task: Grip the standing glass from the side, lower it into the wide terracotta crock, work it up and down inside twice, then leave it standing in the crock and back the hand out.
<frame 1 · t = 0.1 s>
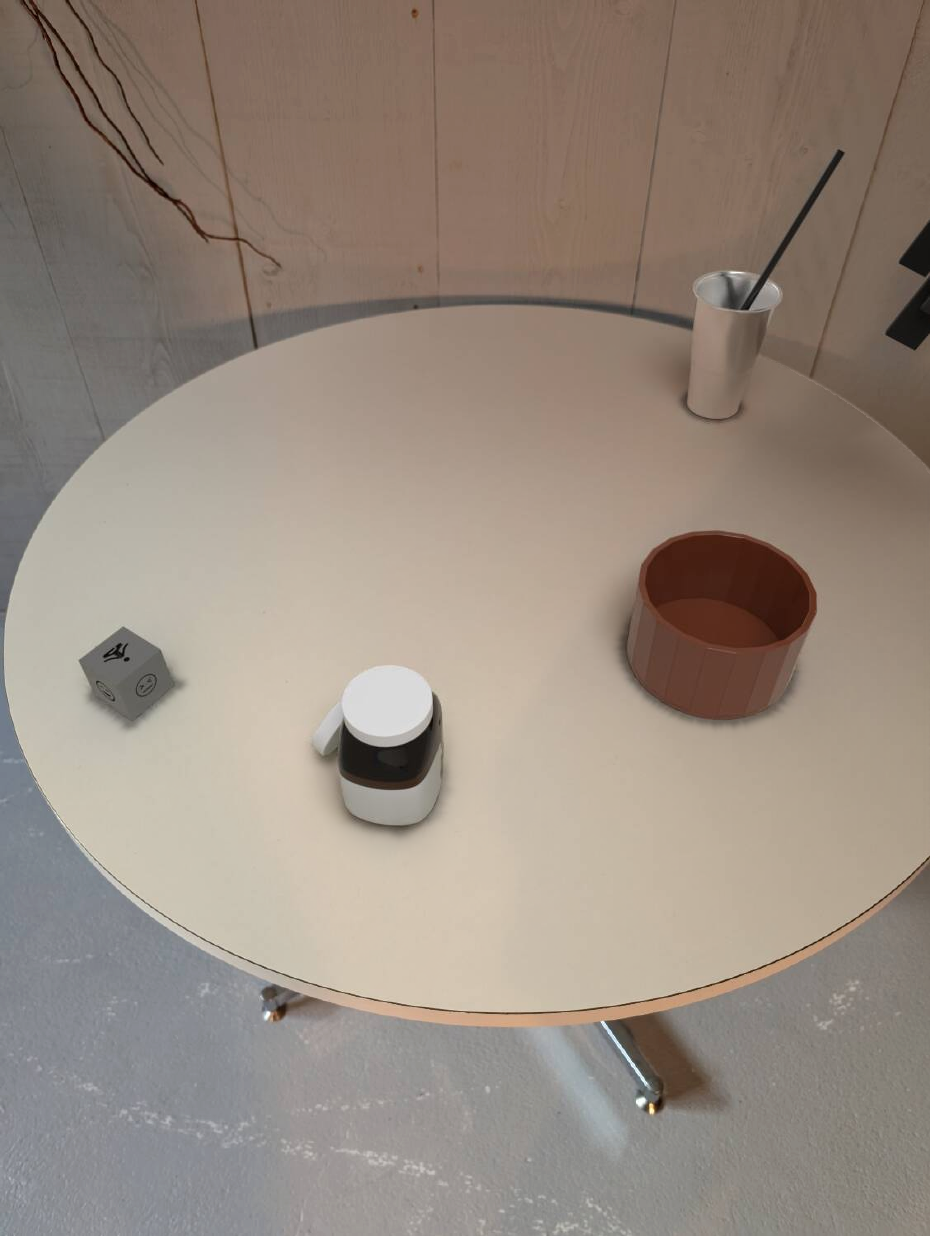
hand: (906, 303, 77), 27 cm above the table, tool tilted 20°, fingers open, 13 cm apart
dice cube: (135, 692, 84), on the table
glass: (717, 405, 115), on the table
crock: (707, 655, 86), on the table
spread jar: (378, 774, 77), on the table
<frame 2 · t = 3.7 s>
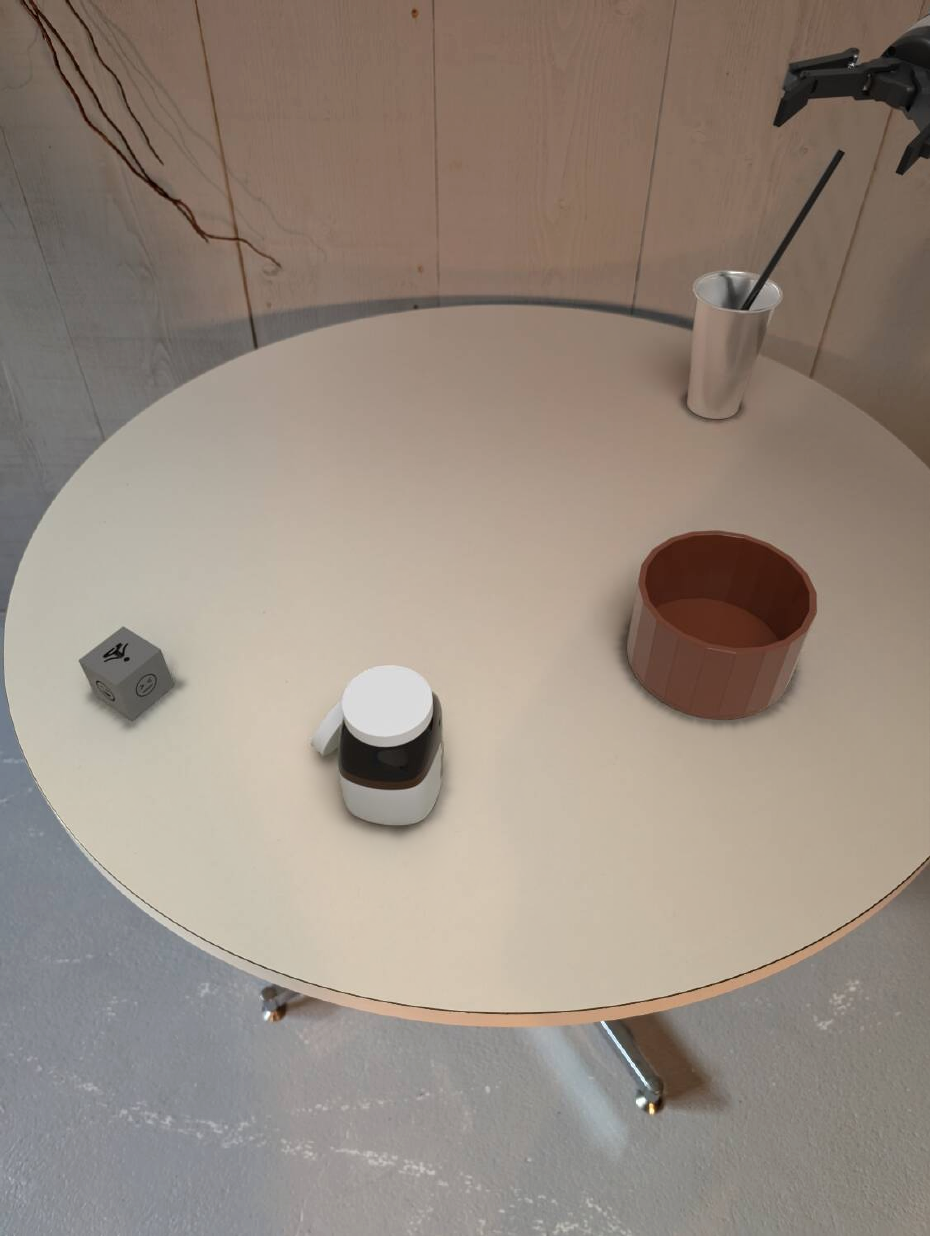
hand: (840, 136, 91), 32 cm above the table, tool horizontal, fingers open, 13 cm apart
nothing on the table moved.
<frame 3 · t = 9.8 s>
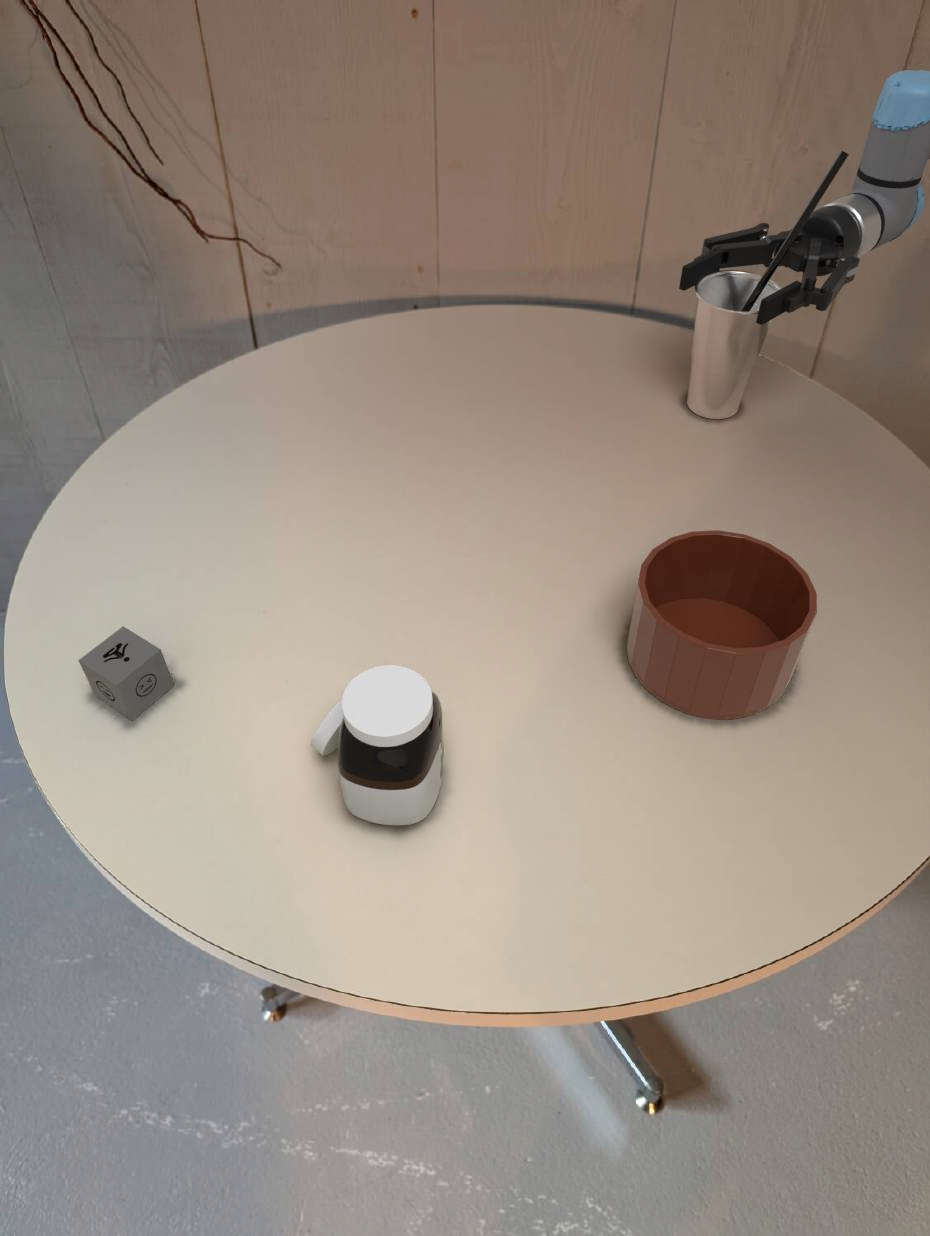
hand: (721, 295, 101), 16 cm above the table, tool horizontal, fingers closed on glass, 10 cm apart
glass: (717, 404, 115), on the table, touching gripper
everything else where it was.
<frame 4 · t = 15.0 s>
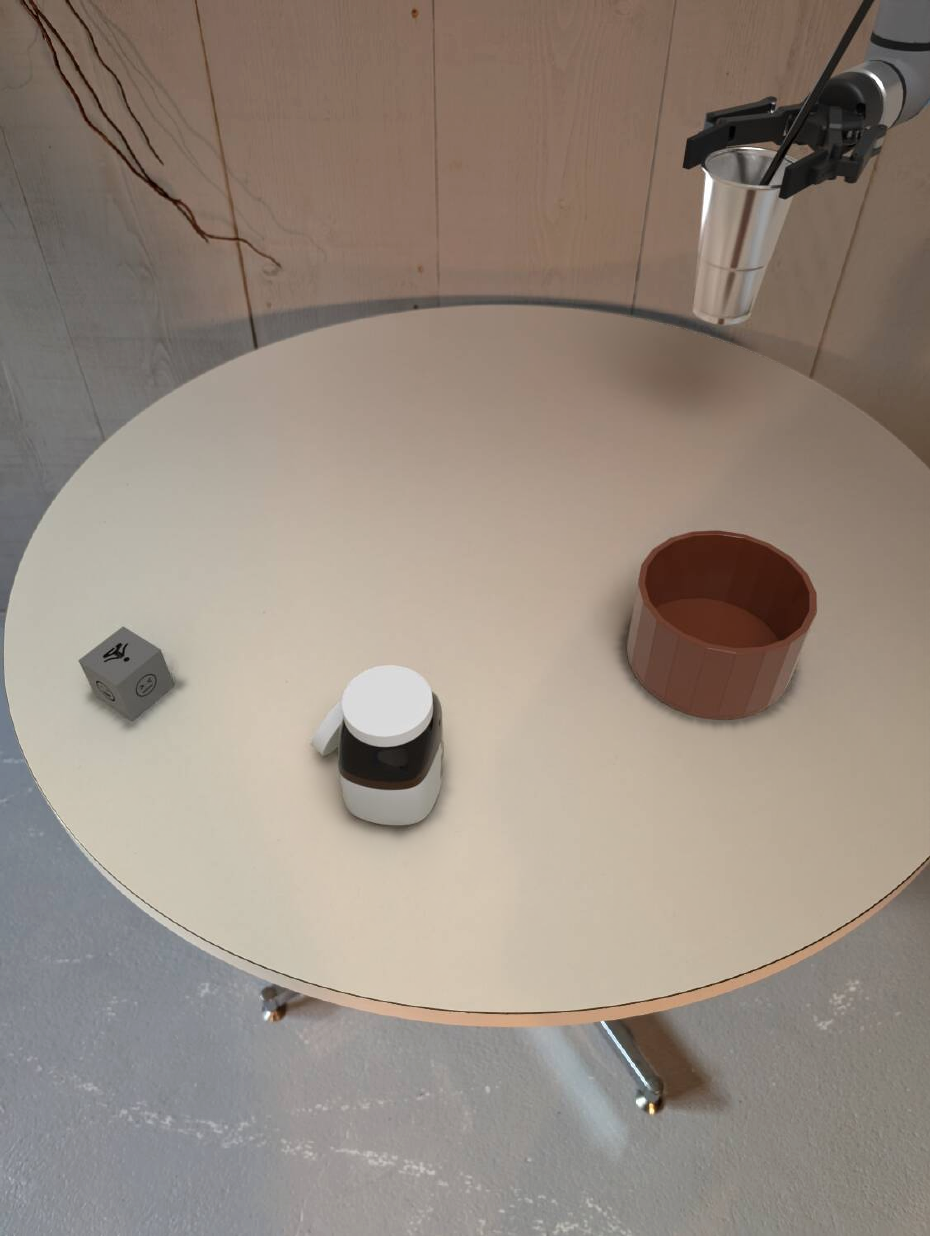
hand: (735, 168, 86), 32 cm above the table, tool horizontal, fingers closed on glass, 10 cm apart
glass: (726, 311, 100), point 15 cm above the table, touching gripper
everything else where it was.
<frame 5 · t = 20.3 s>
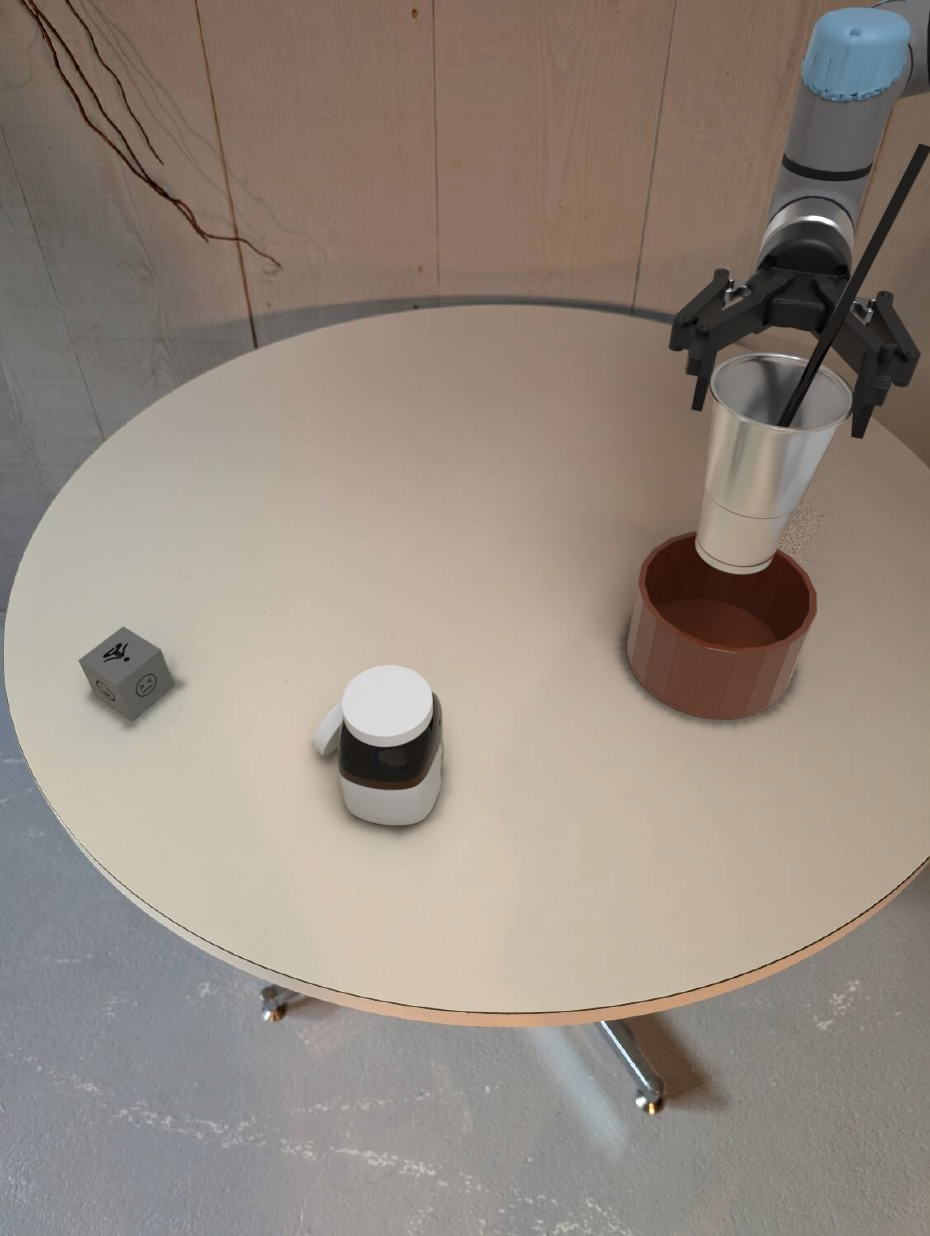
hand: (779, 407, 61), 30 cm above the table, tool horizontal, fingers closed on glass, 10 cm apart
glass: (737, 545, 76), point 14 cm above the table, touching gripper
everything else where it was.
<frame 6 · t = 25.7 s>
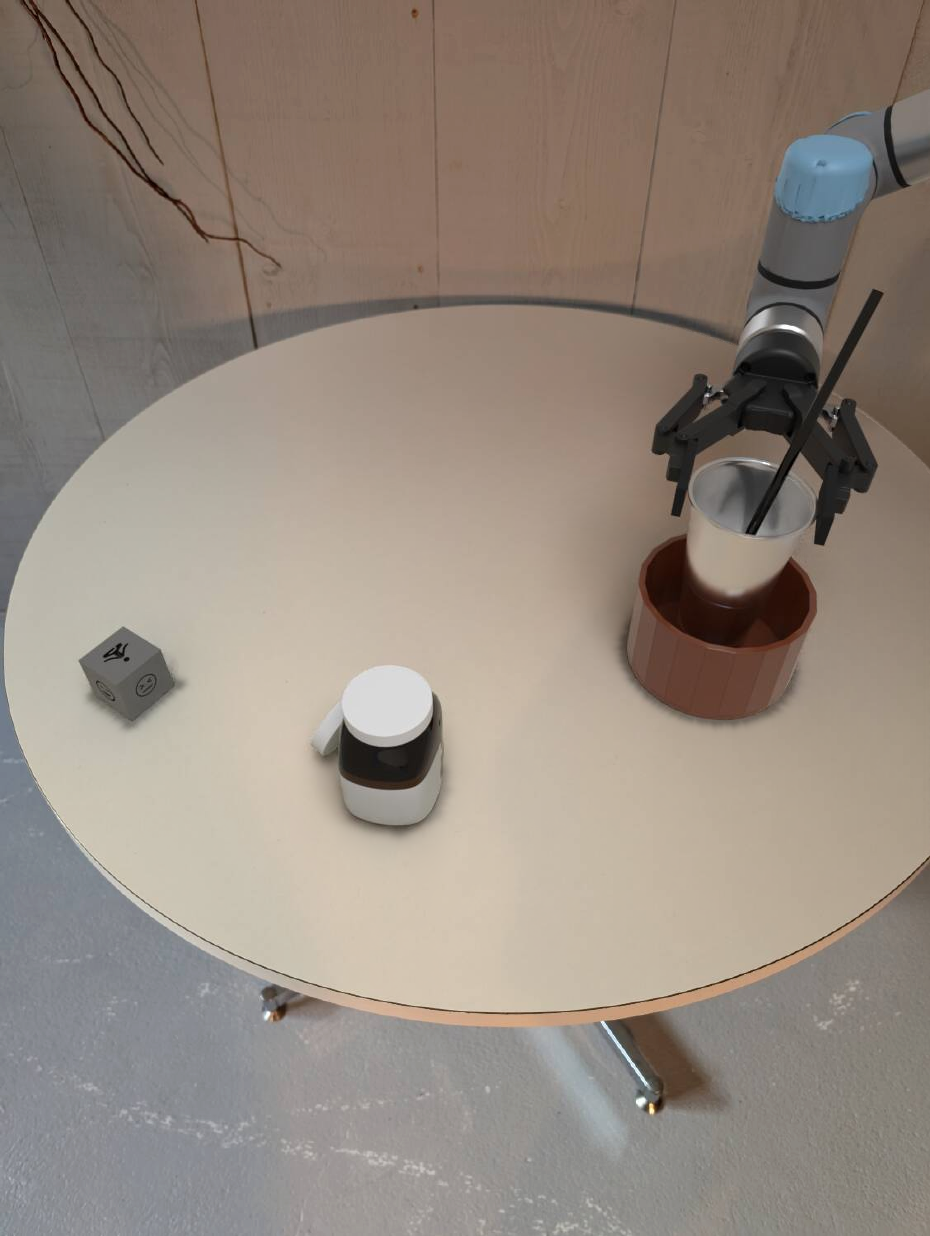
hand: (749, 516, 68), 20 cm above the table, tool horizontal, fingers closed on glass, 10 cm apart
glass: (715, 624, 83), point 4 cm above the table, touching gripper
everything else where it was.
when the fingers open (17 cm above the table, at t = 30.7 s): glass stays where it is, resting on crock.
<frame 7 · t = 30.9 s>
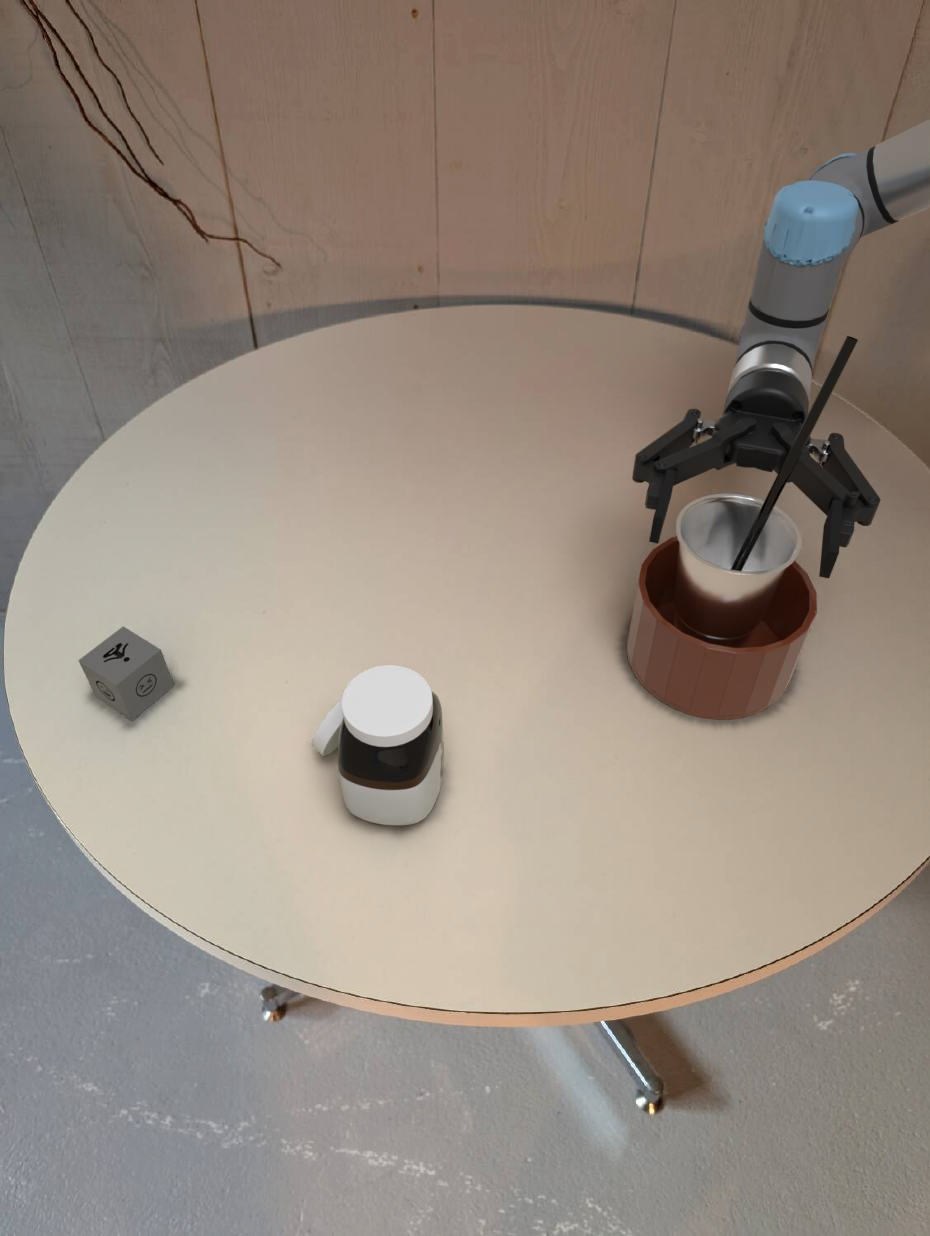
hand: (740, 547, 72), 17 cm above the table, tool horizontal, fingers open, 13 cm apart
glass: (708, 652, 85), resting on crock
everything else where it was.
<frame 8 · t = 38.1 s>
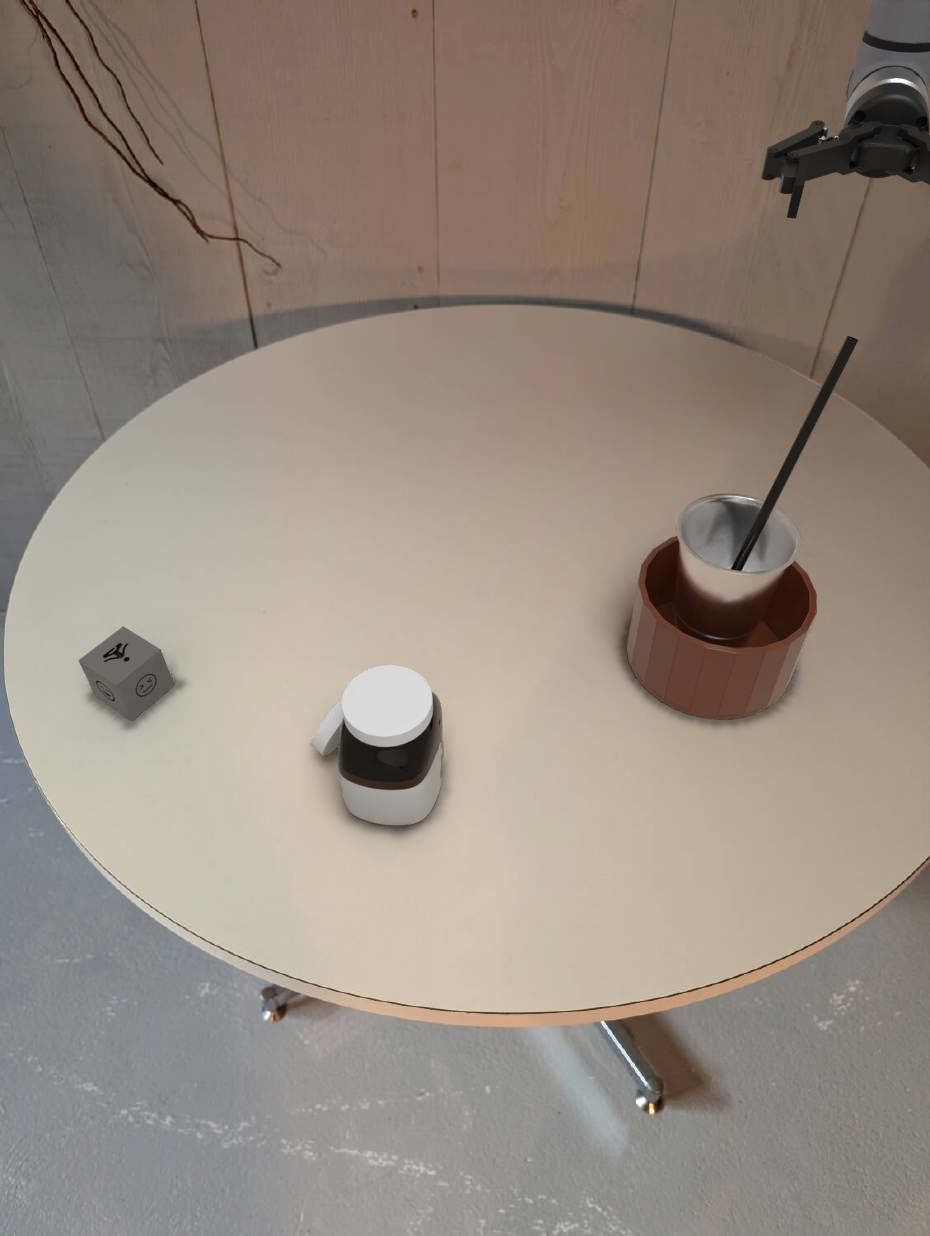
hand: (881, 211, 73), 34 cm above the table, tool horizontal, fingers open, 13 cm apart
nothing on the table moved.
at the end: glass 0.0 cm off-centre in the crock, point 0.4 cm above the crock's base; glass tilted 0°; the gripper is holding nothing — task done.
